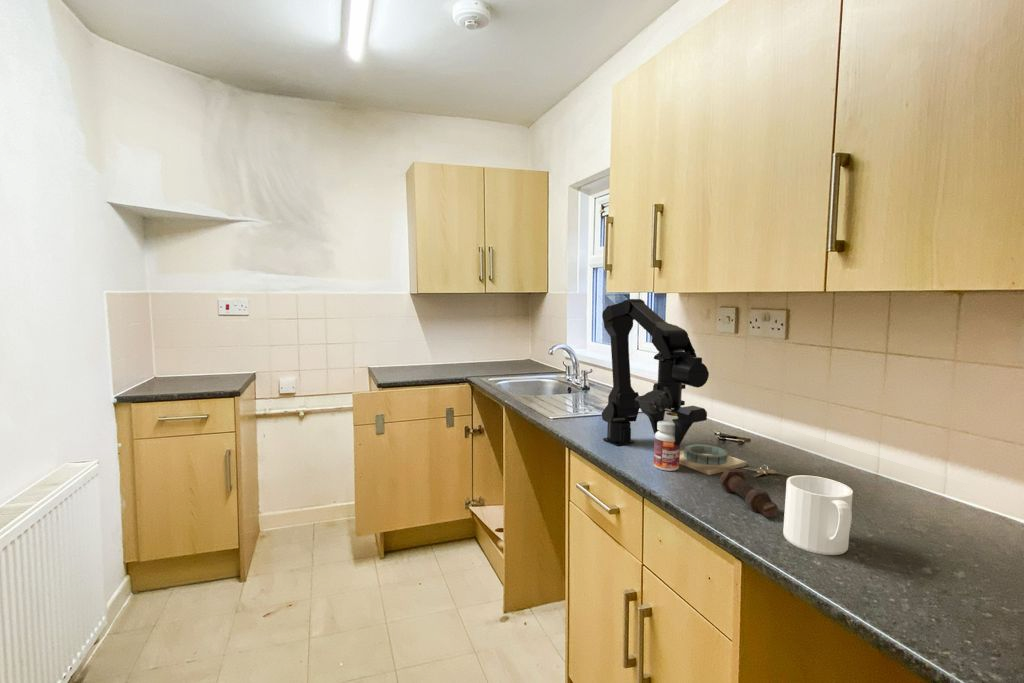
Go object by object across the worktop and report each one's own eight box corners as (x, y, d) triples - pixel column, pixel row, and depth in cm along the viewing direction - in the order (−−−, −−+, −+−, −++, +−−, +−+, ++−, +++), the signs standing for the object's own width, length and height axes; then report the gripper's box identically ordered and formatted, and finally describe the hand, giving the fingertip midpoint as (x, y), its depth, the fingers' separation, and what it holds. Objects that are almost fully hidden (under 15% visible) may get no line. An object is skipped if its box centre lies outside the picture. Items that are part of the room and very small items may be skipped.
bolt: (766, 529, 100) (726, 495, 115) (788, 516, 100) (746, 484, 115) (754, 505, 99) (715, 474, 114) (776, 492, 99) (735, 463, 114)
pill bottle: (662, 472, 125) (664, 427, 123) (648, 464, 131) (650, 420, 129) (684, 470, 127) (686, 425, 125) (669, 462, 132) (671, 419, 131)
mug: (772, 528, 96) (775, 475, 95) (824, 527, 97) (828, 475, 96) (813, 564, 84) (818, 503, 83) (873, 563, 84) (878, 503, 83)
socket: (665, 458, 135) (665, 447, 135) (701, 450, 142) (701, 439, 142) (709, 475, 123) (710, 463, 123) (746, 465, 130) (747, 454, 130)
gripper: (619, 376, 130) (617, 436, 132) (676, 389, 114) (673, 457, 116) (651, 373, 136) (648, 430, 137) (710, 385, 120) (706, 450, 121)
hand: (667, 441), depth 128 cm, fingers closed on pill bottle, 6 cm apart
